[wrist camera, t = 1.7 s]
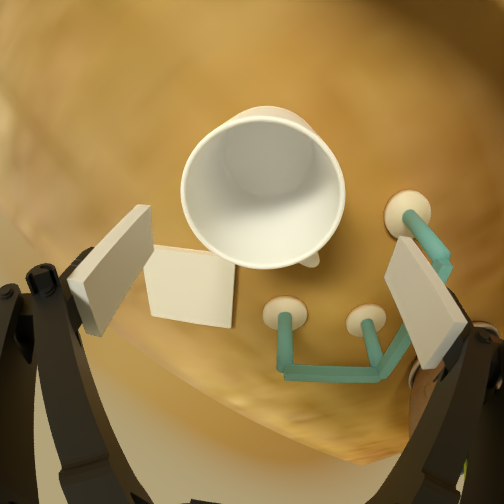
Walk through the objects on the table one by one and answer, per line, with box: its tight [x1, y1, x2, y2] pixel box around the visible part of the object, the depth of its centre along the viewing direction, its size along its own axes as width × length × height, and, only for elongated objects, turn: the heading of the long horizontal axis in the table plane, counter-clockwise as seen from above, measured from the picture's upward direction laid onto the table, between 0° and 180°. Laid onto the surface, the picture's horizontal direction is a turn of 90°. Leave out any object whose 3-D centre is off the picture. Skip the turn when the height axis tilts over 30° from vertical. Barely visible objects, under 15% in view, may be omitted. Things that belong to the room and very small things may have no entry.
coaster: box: [143, 244, 236, 328], centre depth 32 cm, size 10×10×1 cm
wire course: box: [263, 189, 453, 383], centre depth 25 cm, size 19×15×9 cm
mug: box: [181, 106, 346, 269], centre depth 20 cm, size 9×12×11 cm
